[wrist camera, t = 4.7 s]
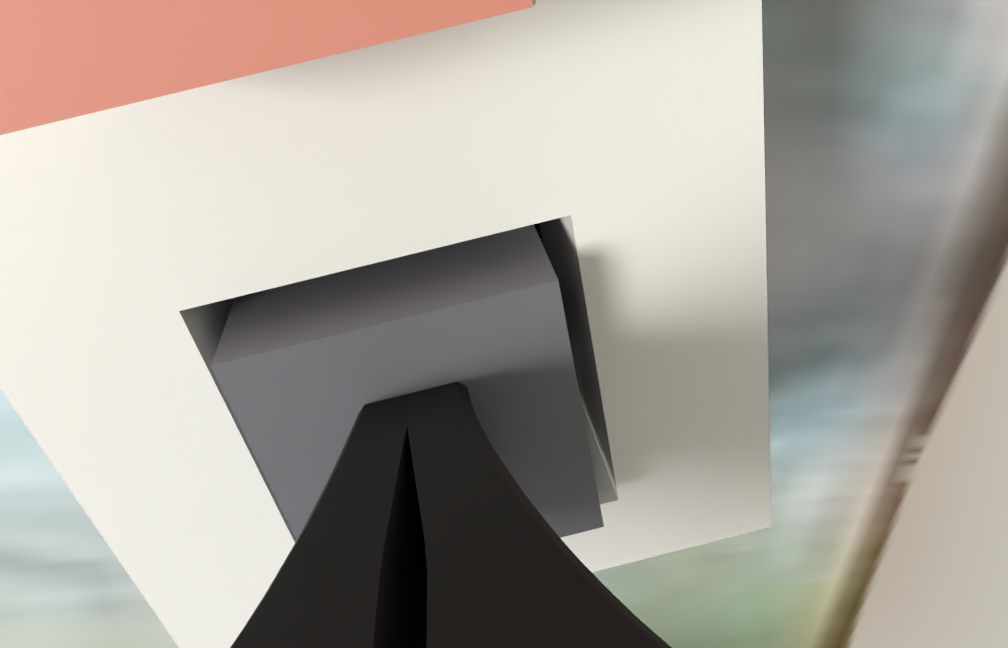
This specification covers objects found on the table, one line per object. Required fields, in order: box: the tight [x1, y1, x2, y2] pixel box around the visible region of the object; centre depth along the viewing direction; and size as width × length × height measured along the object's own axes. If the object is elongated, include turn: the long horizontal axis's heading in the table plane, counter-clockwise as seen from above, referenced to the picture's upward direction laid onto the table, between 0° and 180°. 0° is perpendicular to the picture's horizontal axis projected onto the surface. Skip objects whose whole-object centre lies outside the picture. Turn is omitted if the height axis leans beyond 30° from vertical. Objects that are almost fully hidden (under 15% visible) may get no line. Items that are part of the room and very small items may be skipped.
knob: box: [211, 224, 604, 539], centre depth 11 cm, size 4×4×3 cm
